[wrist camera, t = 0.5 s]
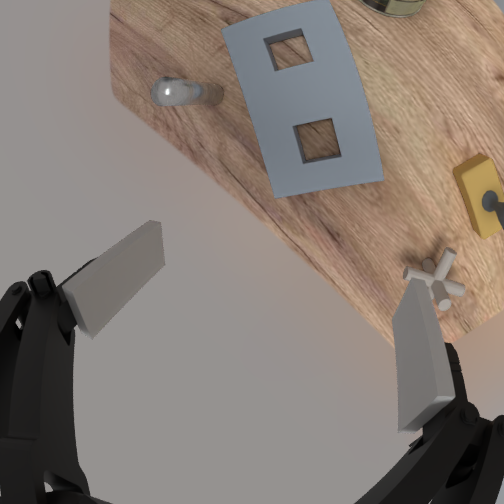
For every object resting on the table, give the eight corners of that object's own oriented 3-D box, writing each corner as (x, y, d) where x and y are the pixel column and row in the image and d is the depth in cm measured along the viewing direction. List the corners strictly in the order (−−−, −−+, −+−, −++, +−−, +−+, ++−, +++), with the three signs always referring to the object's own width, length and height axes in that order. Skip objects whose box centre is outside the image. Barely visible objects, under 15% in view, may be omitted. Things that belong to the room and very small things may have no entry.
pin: (200, 89, 33) (147, 85, 23) (220, 80, 32) (171, 71, 22) (206, 108, 34) (155, 110, 24) (227, 100, 33) (179, 98, 23)
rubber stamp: (500, 213, 27) (540, 251, 17) (473, 230, 30) (508, 273, 20) (480, 152, 25) (527, 172, 15) (451, 169, 28) (492, 195, 18)
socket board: (229, 34, 28) (220, 29, 25) (329, 6, 22) (327, -3, 20) (279, 192, 37) (274, 198, 35) (380, 175, 31) (384, 180, 29)
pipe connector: (387, 282, 38) (394, 326, 30) (412, 224, 33) (430, 259, 24) (438, 297, 36) (453, 340, 28) (465, 244, 31) (491, 281, 23)
